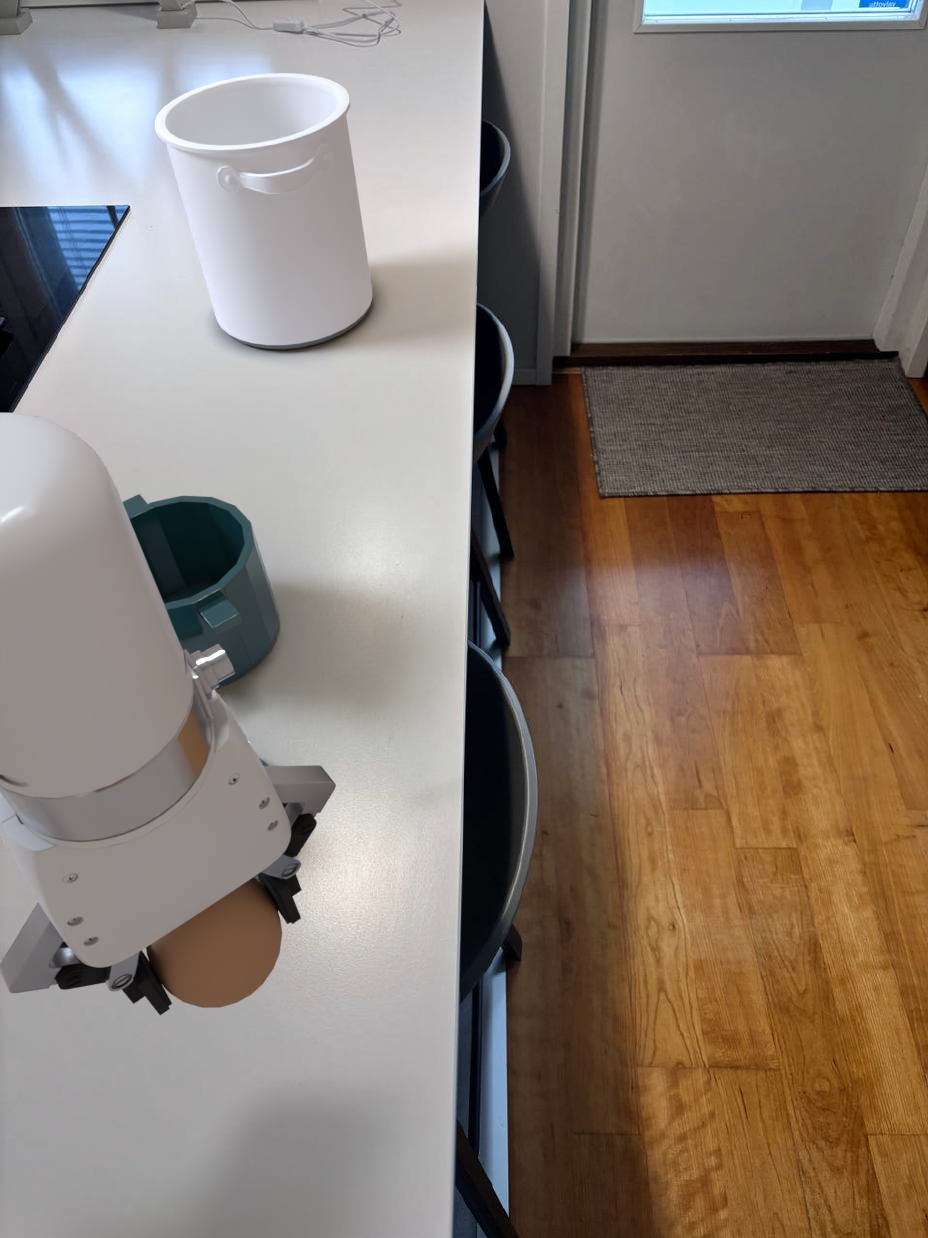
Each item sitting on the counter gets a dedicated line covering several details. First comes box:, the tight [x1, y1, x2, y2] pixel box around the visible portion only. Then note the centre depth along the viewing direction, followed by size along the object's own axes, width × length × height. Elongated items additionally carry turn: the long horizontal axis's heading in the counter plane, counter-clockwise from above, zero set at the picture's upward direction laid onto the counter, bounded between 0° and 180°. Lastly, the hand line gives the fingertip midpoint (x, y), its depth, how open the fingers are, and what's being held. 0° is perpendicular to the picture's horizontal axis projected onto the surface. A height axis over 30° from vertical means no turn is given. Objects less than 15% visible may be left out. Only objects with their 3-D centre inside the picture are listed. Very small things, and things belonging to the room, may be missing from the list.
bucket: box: [154, 72, 373, 350], centre depth 114 cm, size 26×22×24 cm
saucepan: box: [122, 493, 280, 688], centre depth 82 cm, size 14×19×10 cm
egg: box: [145, 877, 283, 1009], centre depth 47 cm, size 6×6×8 cm
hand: (218, 942), depth 48 cm, fingers closed on egg, 6 cm apart
